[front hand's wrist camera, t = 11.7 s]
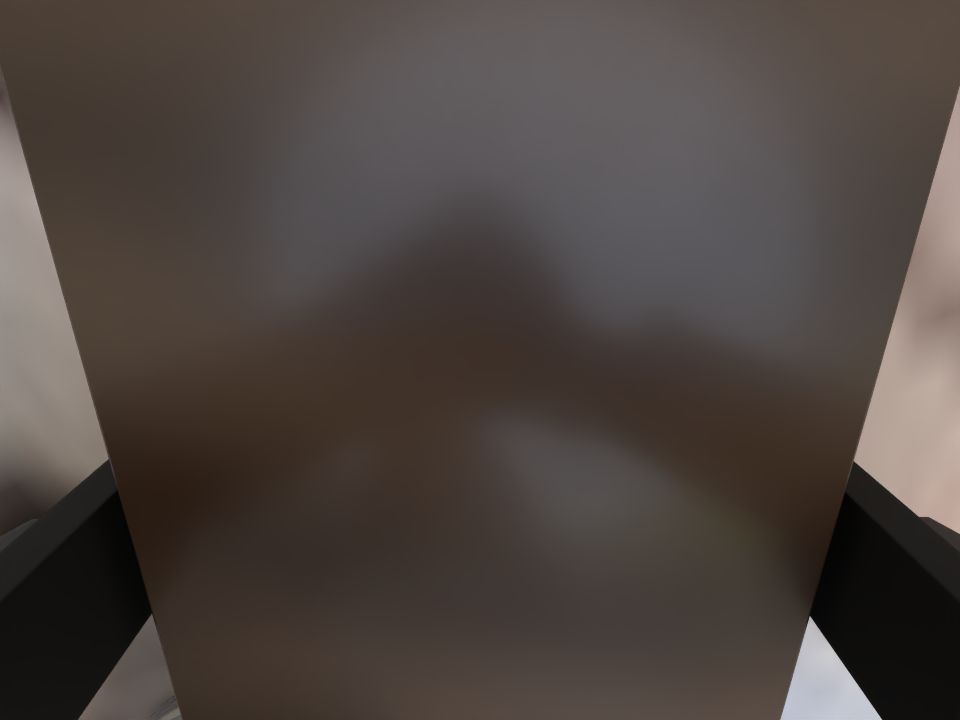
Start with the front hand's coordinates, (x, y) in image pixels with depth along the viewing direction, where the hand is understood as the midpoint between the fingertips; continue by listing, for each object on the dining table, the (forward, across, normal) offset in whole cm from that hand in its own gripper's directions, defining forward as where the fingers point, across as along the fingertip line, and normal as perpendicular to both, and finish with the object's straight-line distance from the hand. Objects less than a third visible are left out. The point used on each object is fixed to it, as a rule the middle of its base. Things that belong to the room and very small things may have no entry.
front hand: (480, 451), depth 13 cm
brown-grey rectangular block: (+6, 0, -6) cm, 9 cm away
